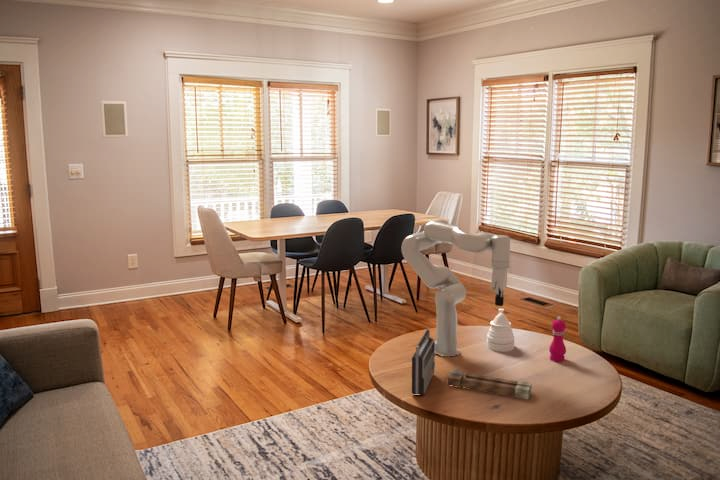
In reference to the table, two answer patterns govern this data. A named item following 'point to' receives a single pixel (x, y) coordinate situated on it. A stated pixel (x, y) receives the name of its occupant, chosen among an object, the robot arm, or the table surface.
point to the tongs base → (488, 385)
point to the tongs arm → (499, 380)
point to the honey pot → (500, 334)
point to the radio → (423, 364)
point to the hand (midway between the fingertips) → (499, 305)
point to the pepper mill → (558, 341)
